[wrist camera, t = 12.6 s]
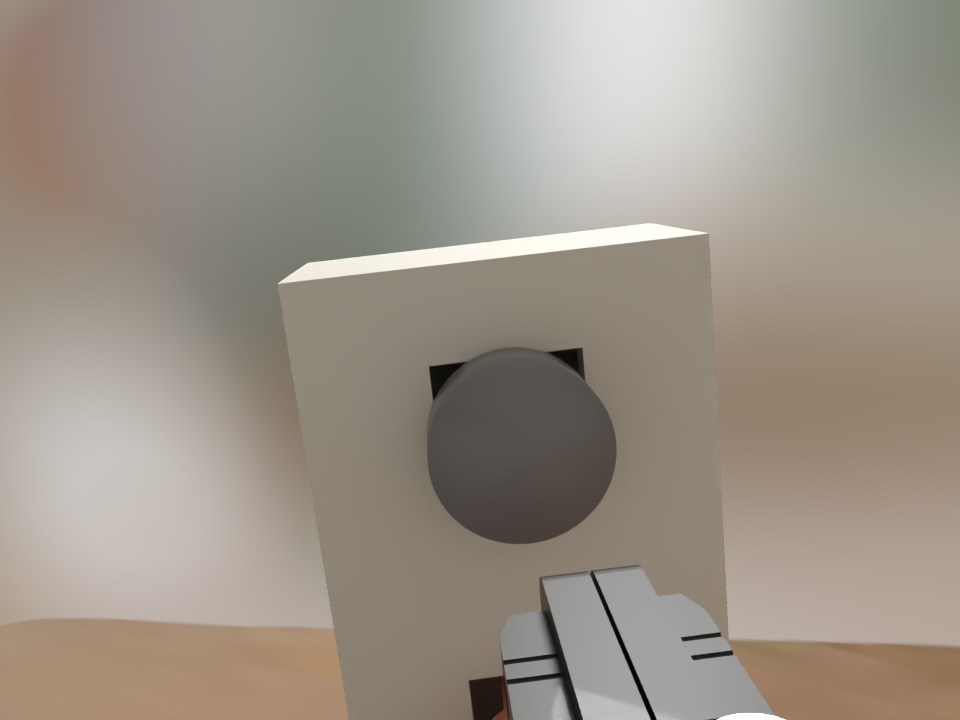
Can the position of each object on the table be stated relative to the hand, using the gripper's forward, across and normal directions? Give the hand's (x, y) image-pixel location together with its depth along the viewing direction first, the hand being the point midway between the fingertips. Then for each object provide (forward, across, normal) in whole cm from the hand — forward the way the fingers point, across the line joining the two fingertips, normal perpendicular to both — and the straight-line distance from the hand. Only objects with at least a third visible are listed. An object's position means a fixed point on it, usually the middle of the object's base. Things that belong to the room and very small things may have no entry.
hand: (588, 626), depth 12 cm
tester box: (+14, 0, +18) cm, 23 cm away
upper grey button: (+13, 0, +3) cm, 13 cm away
